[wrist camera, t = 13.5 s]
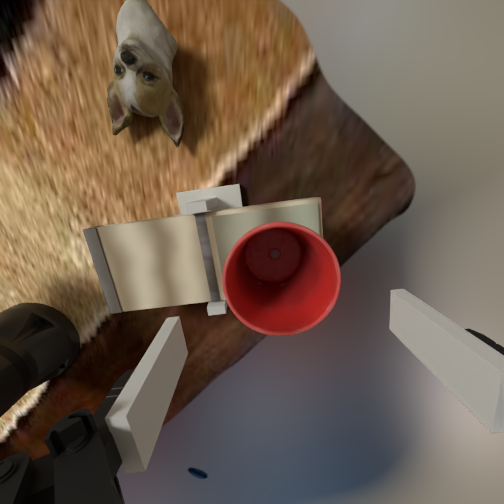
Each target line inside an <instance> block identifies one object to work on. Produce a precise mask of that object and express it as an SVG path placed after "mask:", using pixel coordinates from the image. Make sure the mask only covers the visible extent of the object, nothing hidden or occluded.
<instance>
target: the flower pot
mask: <svg viewBox="0 0 504 504" xmlns="http://www.w3.org/2000/svg"><path fill="white" fill-rule="evenodd" d="M222 286H223V292H224V296H225V299H226V301H227V303H228V305H229V307H230V309H231V310H232V312H233V313H234V314H235V316H236V317H237V318H238V319H239V320H240V321H241V322H242V323H244V324H245V325H246V326H248V327H250V328H251V329H253V330H255V331H258V332H260V333H263V334H267V335H272V336H289V335H294V334H299V333H302V332H304V331H307V330H309V329H311V328H313V327H314V326H316V325H317V324H319V323H320V322H321V321H322V320H323V319H324V318H326V316H327V315H328V314H329V313H330V312H331V310H332V308H333V307H334V305H335V303H336V301H337V298H338V296H339V292H340V287H341V272H340V267H339V263H338V260H337V257H336V255H335V253H334V251H333V250H332V248H331V247H330V245H329V244H328V243H327V242H326V241H325V240H324V239H323V238H322V237H321V236H320V235H319V234H317V233H316V232H315V231H313V230H311V229H309V228H307V227H305V226H302V225H299V224H296V223H291V222H284V221H277V222H269V223H265V224H262V225H260V226H258V227H255V228H254V229H252V230H250V231H249V232H247V233H246V234H245V235H243V236H242V237H241V238H240V239H239V240H238V241H237V242H236V244H235V245H234V246H233V248H232V249H231V251H230V252H229V254H228V256H227V259H226V261H225V264H224V268H223V275H222Z"/></svg>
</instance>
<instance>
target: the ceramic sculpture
mask: <svg viewBox="0 0 504 504" xmlns="http://www.w3.org/2000/svg"><path fill="white" fill-rule="evenodd" d="M116 33H117V37H118V47H117V49H116V52H115V55H114V58H113V70H114V80H113V81H112V82H111V83H110V85H109V87H108V89H107V91H108V97H107V103H108V107H109V109H110V110H109V112H110V116H111V119H112V123H113V128H112V129H113V135H117V134H118V133H119V132H120V131H122V130H123V129H124V128H126V127H127V126H129V125H130V124H131V123H132V122H133V120H134V112H135V113H137V114H139V115H142V116H144V117H156V116H159V120H160V123H161V125H162V128H163V129H164V131H165V132H166V133H167V134H168V136H169V137H170V138H171V139H172V140H173V142H174V144H175V145H176V147H179V144H180V141H181V138H182V136H183V130H184V111H183V104H182V102H181V99H180V97H179V95H178V93H177V92H176V91H175V90H174V88H173V83H172V80H173V75H172V61H173V58H174V56H175V54H176V52H177V49H178V48H177V43H176V40H175V39H174V37H173V36H172V35H171V34H170V33H169V31H168V30H167V29H166V27H165V26H164V25H163V23H162V22H161V21H160V19H159V18H158V16H157V15H156V13H155V12H154V10H153V9H152V7H151V6H150V5H149V3H148V2H147V1H146V0H126V1H125V3H124V4H123V6H122V7H121V9H120V12H119V14H118V16H117V26H116Z"/></svg>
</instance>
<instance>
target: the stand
mask: <svg viewBox="0 0 504 504" xmlns="http://www.w3.org/2000/svg"><path fill="white" fill-rule="evenodd" d="M176 195H177V199H178V204H179V209H180V213H181V215H186V214H193V213H200V212H208V211H216V210H223V209H231V208H238V207H243V206H242V199H241V192H240V185H239V184H236V185H228V186H221V187H214V188H207V189H200V190H192V191H185V192H178V193H176ZM227 305H228V303H227V301H226V300H220V301H216V302H212V301H210V302H209V303H208V306H207V311H208V316H210V315H218V314H226V311H227Z"/></svg>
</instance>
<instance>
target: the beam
mask: <svg viewBox="0 0 504 504" xmlns="http://www.w3.org/2000/svg"><path fill="white" fill-rule="evenodd" d="M277 221H284V222H291V223H296V224H299V225H302V226H305V227H307V228H309V229H311V230H313V231H315V232H316V233H317V234H319V235H320V236H321V237H322V238H323V229H322V210H321V198H320V197H312V198H305V199H297V200H290V201H283V202H275V203H268V204H260V205H253V206H245V207H238V208H231V209H223V210H216V211H208V212H200V213H193V214H186V215H179V216H171V217H164V218H156V219H149V220H142V221H134V222H127V223H119V224H112V225H104V226H96V227H92V228H88V229H84V230H83V232H84V235H85V238H86V241H87V244H88V247H89V250H90V253H91V256H92V259H93V262H94V265H95V268H96V271H97V274H98V277H99V280H100V283H101V286H102V289H103V292H104V295H105V298H106V301H107V304H108V307H109V310H110V313H111V314H113V313H121V312H124V311H133V310H141V309H150V308H159V307H167V306H176V305H184V304H193V303H202V302H210V301H212V302H216V301H220V300H226V299H225V296H224V292H223V286H222V275H223V268H224V264H225V261H226V259H227V256H228V254H229V252H230V251H231V249H232V248H233V246H234V245H235V244H236V242H237V241H238V240H239V239H240V238H241V237H242V236H243V235H245V234H246V233H247V232H249V231H250V230H252V229H254V228H255V227H258V226H260V225H262V224H265V223H269V222H277Z"/></svg>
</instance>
